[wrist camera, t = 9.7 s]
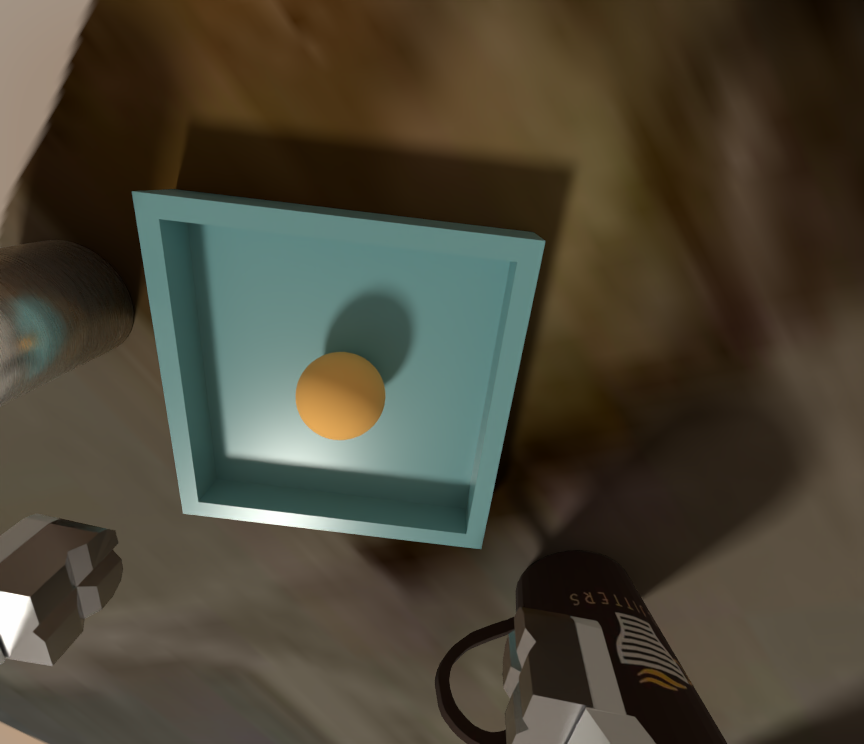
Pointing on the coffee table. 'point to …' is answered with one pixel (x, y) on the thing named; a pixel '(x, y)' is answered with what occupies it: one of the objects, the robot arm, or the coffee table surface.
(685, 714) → the coffee mug
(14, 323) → the cup
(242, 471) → the tray
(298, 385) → the ball
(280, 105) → the coffee table surface
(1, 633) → the robot arm
